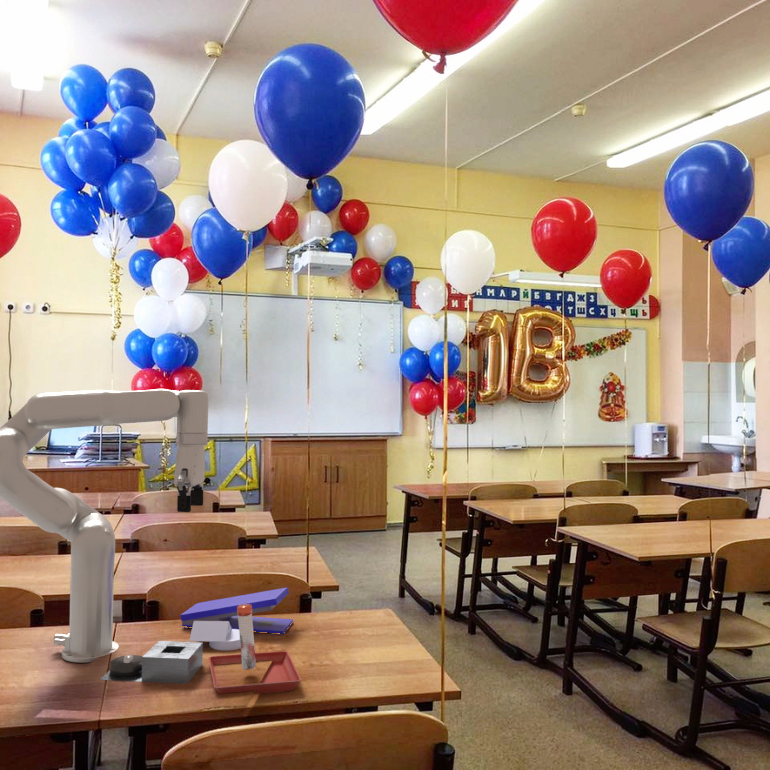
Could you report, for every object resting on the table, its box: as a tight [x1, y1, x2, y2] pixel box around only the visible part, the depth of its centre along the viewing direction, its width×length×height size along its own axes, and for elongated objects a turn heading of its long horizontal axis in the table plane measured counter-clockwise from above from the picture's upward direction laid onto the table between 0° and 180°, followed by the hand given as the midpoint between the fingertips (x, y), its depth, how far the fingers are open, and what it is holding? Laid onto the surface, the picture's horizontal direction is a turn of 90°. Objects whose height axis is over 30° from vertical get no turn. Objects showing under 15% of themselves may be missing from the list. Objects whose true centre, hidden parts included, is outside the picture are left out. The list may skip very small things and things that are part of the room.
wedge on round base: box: [188, 621, 241, 651], centre depth 180 cm, size 9×7×13 cm
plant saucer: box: [208, 650, 302, 695], centre depth 161 cm, size 18×18×3 cm
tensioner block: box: [98, 640, 204, 685], centre depth 161 cm, size 19×11×6 cm, turn 87°
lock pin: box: [237, 604, 257, 670], centre depth 160 cm, size 3×3×13 cm
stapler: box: [179, 587, 294, 635], centre depth 197 cm, size 12×28×10 cm, turn 82°
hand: (190, 508), depth 183 cm, fingers open, 9 cm apart
